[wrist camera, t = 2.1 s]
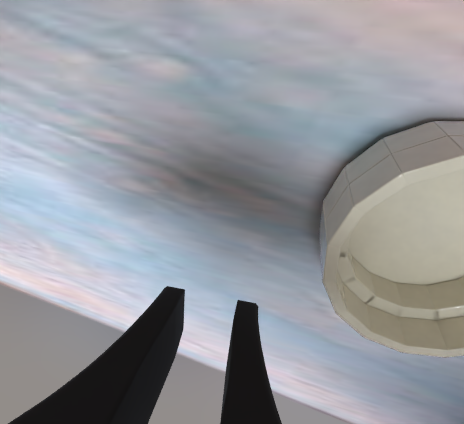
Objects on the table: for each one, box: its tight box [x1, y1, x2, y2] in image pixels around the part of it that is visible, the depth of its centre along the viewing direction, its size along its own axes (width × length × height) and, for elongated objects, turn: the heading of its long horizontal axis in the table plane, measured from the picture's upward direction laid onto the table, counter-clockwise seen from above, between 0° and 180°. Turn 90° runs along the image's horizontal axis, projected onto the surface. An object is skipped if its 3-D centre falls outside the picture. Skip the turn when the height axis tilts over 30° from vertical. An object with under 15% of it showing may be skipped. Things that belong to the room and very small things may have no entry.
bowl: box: [319, 121, 464, 358], centre depth 17 cm, size 11×11×4 cm
